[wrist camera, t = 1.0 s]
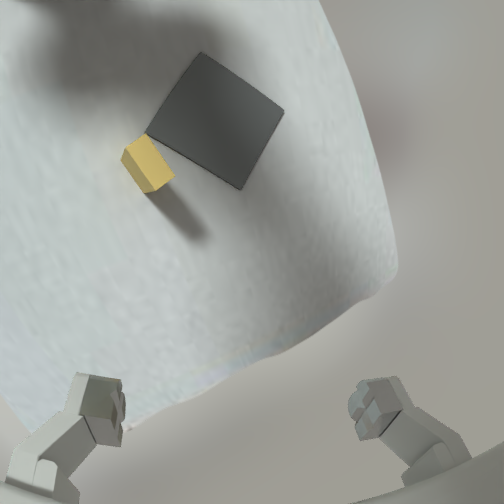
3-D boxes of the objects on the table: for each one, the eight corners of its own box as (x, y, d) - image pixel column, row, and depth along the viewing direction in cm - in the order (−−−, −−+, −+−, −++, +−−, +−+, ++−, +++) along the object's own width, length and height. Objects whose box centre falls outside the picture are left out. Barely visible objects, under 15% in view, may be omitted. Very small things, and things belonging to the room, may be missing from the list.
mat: (144, 132, 37) (145, 132, 36) (200, 53, 38) (201, 51, 37) (239, 190, 43) (241, 189, 43) (282, 110, 45) (284, 110, 44)
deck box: (143, 193, 38) (155, 190, 29) (120, 160, 36) (125, 147, 28) (159, 182, 39) (175, 176, 30) (136, 148, 37) (146, 133, 28)
